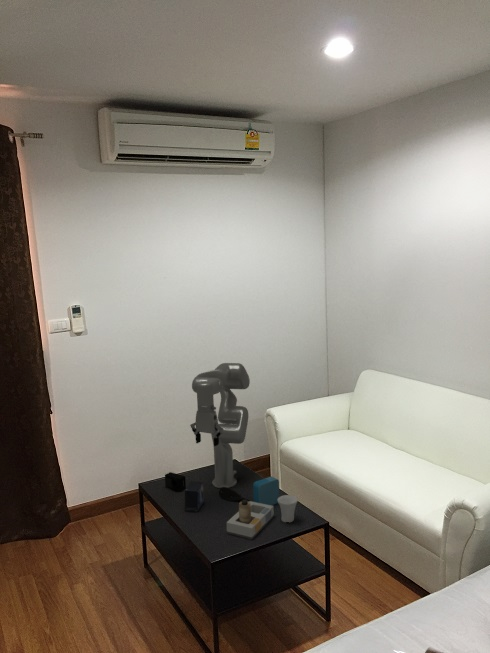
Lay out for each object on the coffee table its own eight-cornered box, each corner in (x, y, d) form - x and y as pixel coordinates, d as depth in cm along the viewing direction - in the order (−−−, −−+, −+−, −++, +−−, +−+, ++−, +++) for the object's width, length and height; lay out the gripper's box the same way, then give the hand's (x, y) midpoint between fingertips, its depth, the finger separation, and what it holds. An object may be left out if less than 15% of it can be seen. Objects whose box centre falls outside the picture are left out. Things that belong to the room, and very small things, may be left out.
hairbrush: (250, 507, 245) (215, 488, 263) (250, 514, 245) (215, 495, 263) (263, 500, 251) (227, 483, 268) (263, 508, 251) (227, 490, 269)
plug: (243, 523, 232) (241, 497, 230) (253, 526, 230) (252, 499, 228) (237, 529, 228) (236, 502, 226) (248, 531, 226) (247, 504, 224)
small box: (198, 512, 246) (197, 491, 245) (184, 511, 248) (183, 490, 246) (204, 502, 256) (203, 481, 255) (191, 501, 258) (190, 480, 256)
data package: (273, 499, 257) (273, 475, 255) (279, 502, 253) (279, 478, 252) (253, 506, 250) (252, 482, 249) (259, 510, 247) (258, 485, 245)
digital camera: (163, 488, 273) (162, 475, 272) (171, 484, 278) (170, 471, 277) (178, 493, 267) (177, 479, 266) (185, 489, 272) (185, 476, 271)
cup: (273, 518, 238) (273, 497, 237) (292, 513, 242) (291, 492, 241) (283, 527, 230) (282, 505, 229) (302, 522, 234) (301, 500, 233)
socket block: (250, 511, 246) (249, 500, 245) (274, 516, 240) (273, 505, 239) (226, 533, 227) (226, 521, 226) (252, 539, 221) (252, 527, 220)
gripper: (226, 408, 246) (227, 443, 248) (194, 404, 254) (196, 438, 256) (217, 412, 239) (219, 449, 241) (185, 408, 247) (187, 444, 249)
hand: (207, 443), depth 249 cm, fingers open, 9 cm apart
